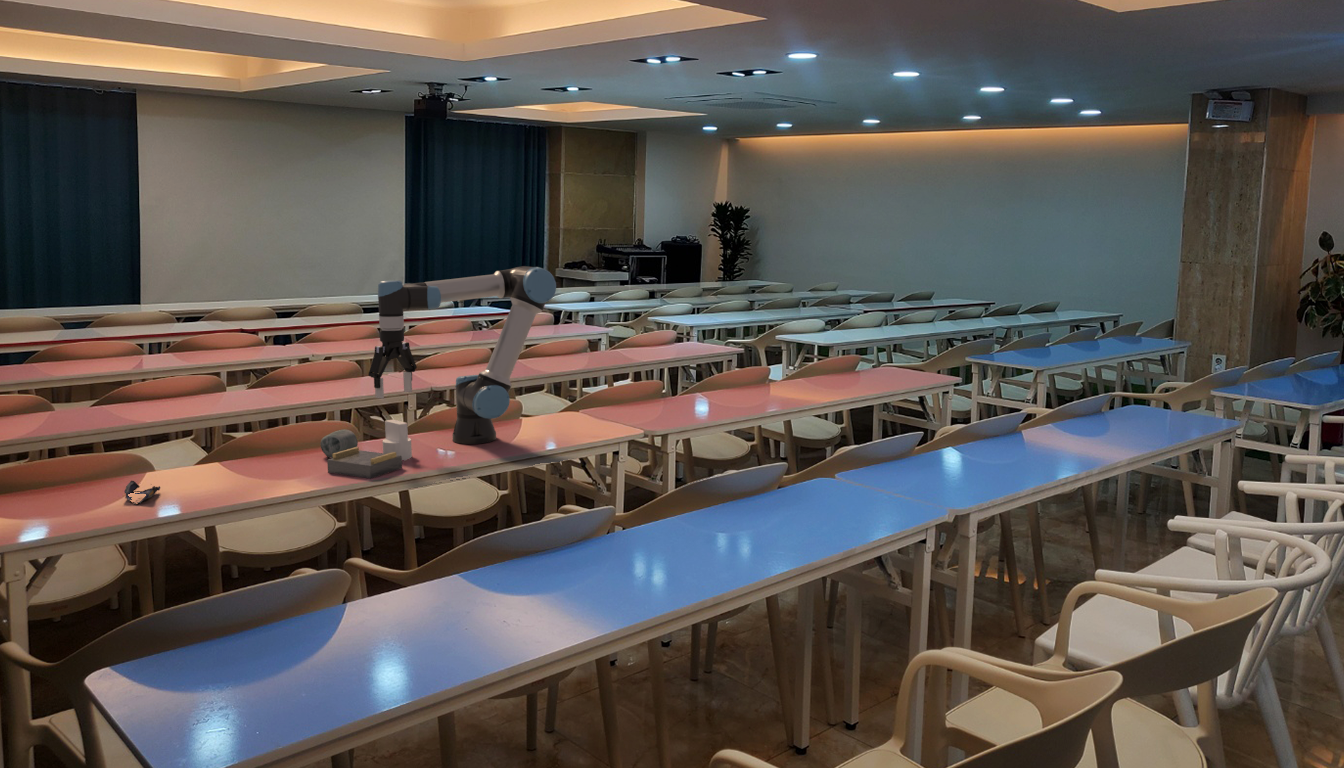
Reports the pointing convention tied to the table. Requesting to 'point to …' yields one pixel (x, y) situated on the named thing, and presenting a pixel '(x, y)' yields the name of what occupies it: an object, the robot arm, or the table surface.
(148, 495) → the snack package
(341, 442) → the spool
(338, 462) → the dark grey flat block
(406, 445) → the base with upright slab
